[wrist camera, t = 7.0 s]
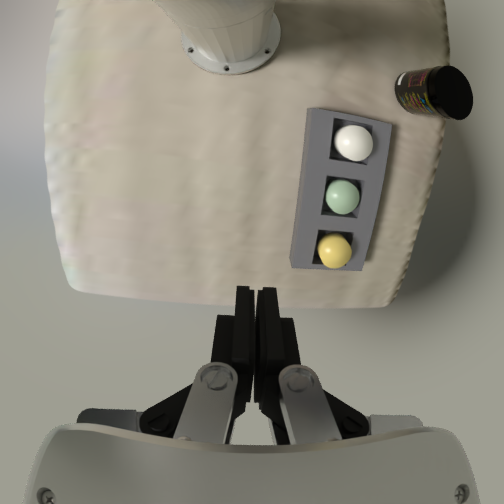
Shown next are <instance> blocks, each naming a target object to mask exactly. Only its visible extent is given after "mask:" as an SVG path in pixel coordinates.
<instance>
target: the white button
mask: <svg viewBox="0 0 504 504" xmlns="http://www.w3.org/2000/svg"><path fill="white" fill-rule="evenodd" d="M334 146H335V149H336V150H337V152H338V153H339V154H340V155H342V156H344V157H346V158H348V159H350V160H353V161H361V160H364V159H365V158H367V157H368V156H369V155H370V153H371V151H372V148H373V140H372V137H371V135H370V133H369V132H368V131H367V130H366V129H365V128H363V127H361V126H355V125H344V126H342V127H340V128H339V129H338V130H337V131H336V133H335V135H334Z"/></svg>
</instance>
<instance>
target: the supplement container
mask: <svg viewBox="0 0 504 504" xmlns="http://www.w3.org/2000/svg"><path fill="white" fill-rule="evenodd" d="M395 94H396V98H397V100H398V102H399V103H400V105H401V106H402V107H403V108H404V109H405V110H406V111H408V112H410V113H412V114H418V115H428V116H436V117H444V118H448V119H455V120H462V119H465V118H466V117H467V116H468V115H469V114H470V112H471V109H472V106H473V94H472V90H471V87H470V84H469V82H468V80H467V79H466V77H465V76H464V74H463V73H462V72H461V71H459V70H458V69H457V68H455V67H453V66H438V67H434V68H426V69H420V70H413V71H408V72H404V73H402V74H400V75H399V76H398V78H397V80H396V82H395Z"/></svg>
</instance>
